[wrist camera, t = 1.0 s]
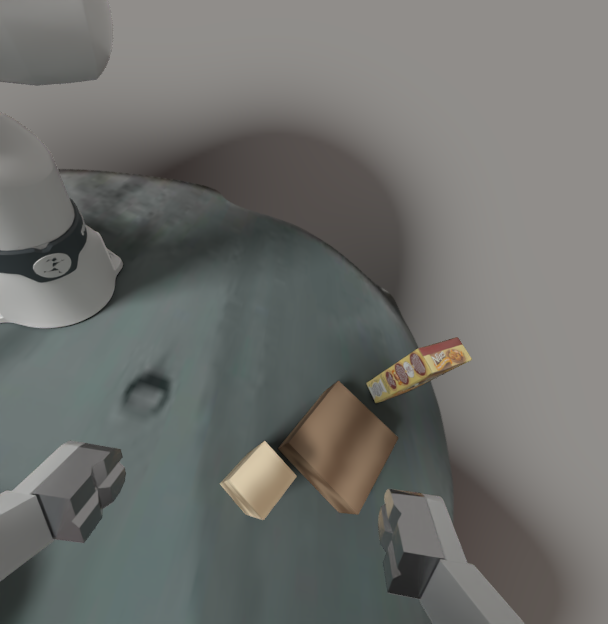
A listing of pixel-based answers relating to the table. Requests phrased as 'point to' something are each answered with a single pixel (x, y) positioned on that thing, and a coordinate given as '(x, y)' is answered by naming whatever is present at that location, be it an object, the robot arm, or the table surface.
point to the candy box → (418, 369)
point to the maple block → (258, 481)
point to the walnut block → (340, 448)
